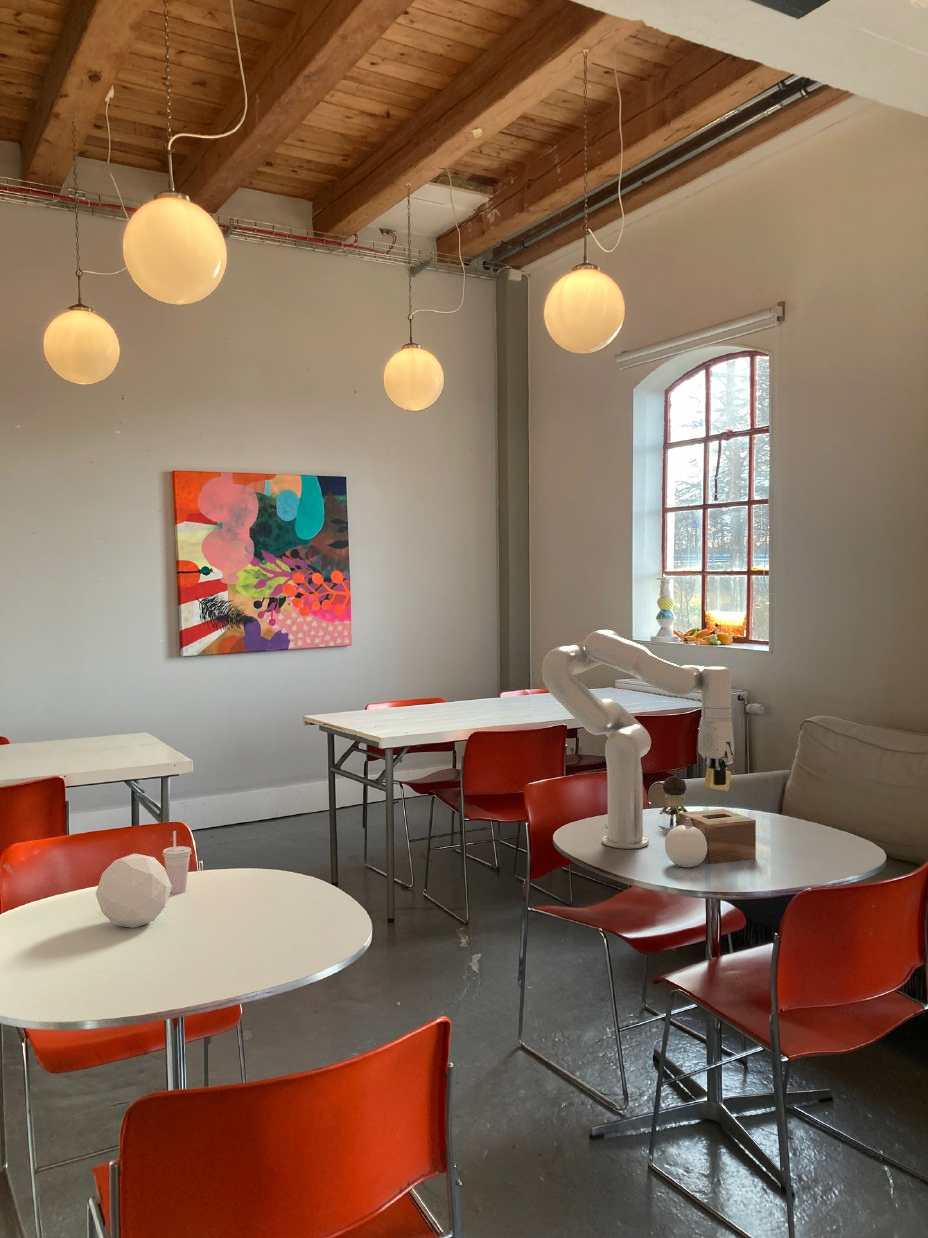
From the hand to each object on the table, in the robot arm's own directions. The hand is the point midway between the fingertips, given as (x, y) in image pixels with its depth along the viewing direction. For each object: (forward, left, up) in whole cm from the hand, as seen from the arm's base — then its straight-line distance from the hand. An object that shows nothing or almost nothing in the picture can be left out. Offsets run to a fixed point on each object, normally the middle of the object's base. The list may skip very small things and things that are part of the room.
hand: (717, 783), depth 240 cm
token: (0, +3, 0) cm, 3 cm away
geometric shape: (+2, -144, -19) cm, 145 cm away
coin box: (0, 0, -19) cm, 19 cm away
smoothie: (-17, -135, -19) cm, 137 cm away
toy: (-31, +7, -19) cm, 37 cm away
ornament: (+6, -14, -19) cm, 24 cm away
